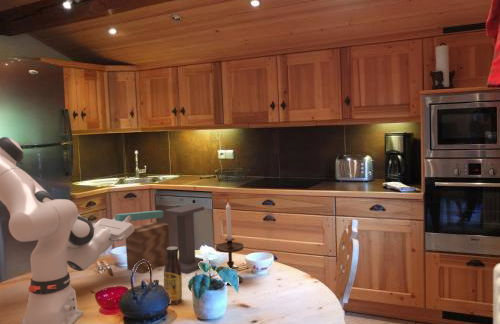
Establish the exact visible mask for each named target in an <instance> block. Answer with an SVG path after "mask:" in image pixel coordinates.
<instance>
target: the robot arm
mask: <svg viewBox="0 0 500 324" xmlns="http://www.w3.org/2000/svg"><path fill="white" fill-rule="evenodd" d="M23 159H24V151H23V149H22V147H21V145H20V144H19V143H18V142H17V141H16V140H14V139H12V138H9V137H8V136H3V137H1V138H0V202H1V203H2V204H3V205H4V206H5V207H6V209H7V210H8V213H9V217H10V218H9V221H8V231H9V233H10V234H11V236H12V237H13V238H14V239H15V240H16V241H18V242H22V243H24V242H33V241H37V244H36V246H35V247H34V249H33V250H32V252H31V254H30V257H29V258H30V270H31V278H30V283H29V286H28V292H29V293H28V295H29V296H28V299H27V304H26V307H25V313H24V315H23V317H22V320H21V323H20V324H74V323H75V322H76V321H77V320H78V319H79V318H80V317H81V316H82V315H83V314H84V313H83V310H82V309H79V308H78V302H77V295H76V290H75V289H74V288H73V287H72V286H71V284H70V283H71V275H70V273H69V271H68V270H69V269H68V267H70V268H71V269H73V270H75V271H77V272H83V271H85V270H88V269H89V268H90V267H91V266H92V265H93V264H94V263H96V261H98V260H99V258H100V256H101V255H103V254H104V253H106V251H107V250H109V249H110V248H111V247H112V246H113V244H114V243H118V242H122V241H125V240H126V238H127V237H128V236H129V235H131V234H132V233H133V232H134V230H135V229H134V227H135V226H134V225H133V223H132V222H131V221H130V220H131V216H129V215H127V216H126V217H125V221H116V220H115V217H114V218H112V219H109V218H106V217H103V218H100V219H99V220H98V221H96V223H94V224H93V223H92V222H91V221H90V220H88V219H86V218H84V217H82V216H79V210H78V209H79V208H78V207H77V205H76V203H74V202H73V200H70V199H67V198H66V199H63V198H58V199H57V198H55V196H53V195H52V194H50V193H49V192H48V191H47V190H45V188H43V186H42V185H40V184H39V183H38V182H37V181H36V179H34V178H33V177H32V176H31V175H29V174H28V173H27V172H26V171H24V170H23V169H21V168H20V167H19V166H17V164H18V163H19V164H20V165H21V166H22V165H23V162H22V161H23ZM130 222H131V223H130Z"/></svg>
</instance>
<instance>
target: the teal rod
mask: <svg viewBox="0 0 500 324" xmlns="http://www.w3.org/2000/svg"><path fill="white" fill-rule="evenodd" d="M127 215H129V216H131V220H130V221H129V222H136V221H145V220H154V219H162V218H164V211H163V210H159V209H158V210H149V211H148V210H147V211H139V212H138V211H136V212H125V213H124V212H123V213H117V214H115V215H114V218H115V220H116V221H125V217H126V216H127Z"/></svg>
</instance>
